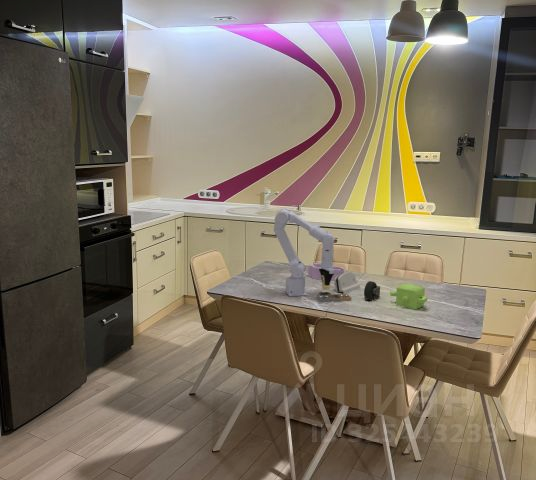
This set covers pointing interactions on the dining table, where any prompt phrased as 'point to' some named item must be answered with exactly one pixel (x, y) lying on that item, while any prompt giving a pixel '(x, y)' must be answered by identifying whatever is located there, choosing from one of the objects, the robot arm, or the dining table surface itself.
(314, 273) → the purple oblong basket
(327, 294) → the gray square frame
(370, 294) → the caster wheel
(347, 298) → the chain end right
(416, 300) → the gearbox
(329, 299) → the chain end left
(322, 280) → the pin
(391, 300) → the dining table surface
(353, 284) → the off-white striped device
